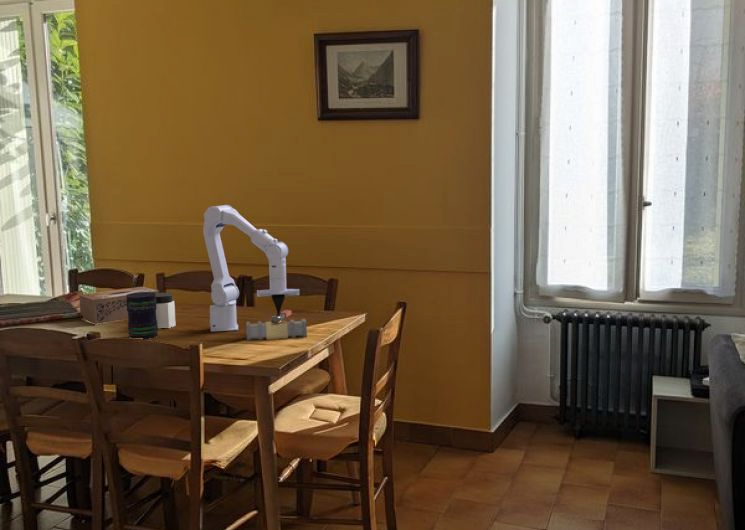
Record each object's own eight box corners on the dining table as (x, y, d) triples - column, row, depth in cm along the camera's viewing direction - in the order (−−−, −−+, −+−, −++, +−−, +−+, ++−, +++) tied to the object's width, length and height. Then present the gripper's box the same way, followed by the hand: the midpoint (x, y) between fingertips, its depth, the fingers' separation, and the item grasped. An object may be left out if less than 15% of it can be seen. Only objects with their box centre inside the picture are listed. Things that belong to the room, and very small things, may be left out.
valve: (247, 340, 246) (246, 325, 245) (246, 336, 252) (246, 321, 251) (306, 337, 249) (306, 322, 249) (305, 333, 255) (305, 318, 254)
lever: (279, 323, 248) (279, 317, 247) (269, 322, 249) (269, 317, 248) (293, 315, 260) (293, 310, 260) (283, 314, 261) (283, 309, 261)
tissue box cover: (95, 326, 274) (93, 299, 272) (81, 320, 284) (79, 295, 283) (160, 315, 291) (159, 290, 289) (144, 310, 301) (142, 286, 300)
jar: (175, 323, 274) (174, 292, 272) (175, 328, 266) (173, 295, 265) (150, 325, 272) (148, 293, 270) (149, 330, 264) (147, 297, 262)
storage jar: (148, 341, 248) (145, 297, 245) (122, 339, 250) (119, 296, 248) (164, 334, 257) (161, 292, 255) (139, 333, 260) (136, 291, 258)
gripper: (256, 280, 249) (257, 319, 251) (299, 278, 252) (300, 317, 254) (256, 276, 256) (257, 315, 258) (298, 275, 259) (299, 313, 261)
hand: (278, 316), depth 256 cm, fingers closed, pressing on lever
